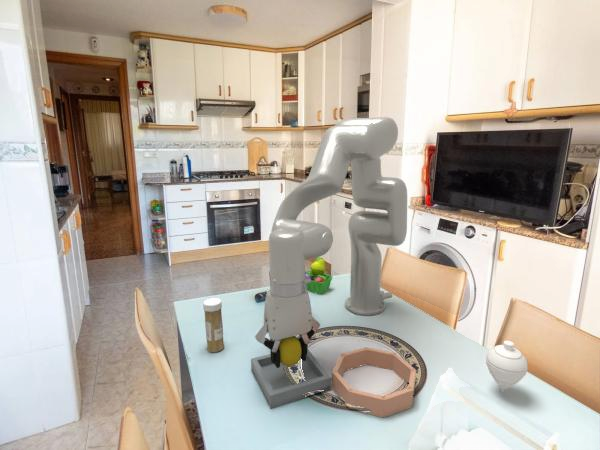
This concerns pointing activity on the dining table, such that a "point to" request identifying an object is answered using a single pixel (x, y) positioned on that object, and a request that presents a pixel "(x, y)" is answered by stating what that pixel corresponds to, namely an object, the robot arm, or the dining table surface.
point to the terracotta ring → (374, 402)
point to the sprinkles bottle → (213, 324)
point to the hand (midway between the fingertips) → (289, 360)
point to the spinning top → (506, 365)
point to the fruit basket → (318, 277)
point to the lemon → (290, 351)
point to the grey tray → (280, 387)
